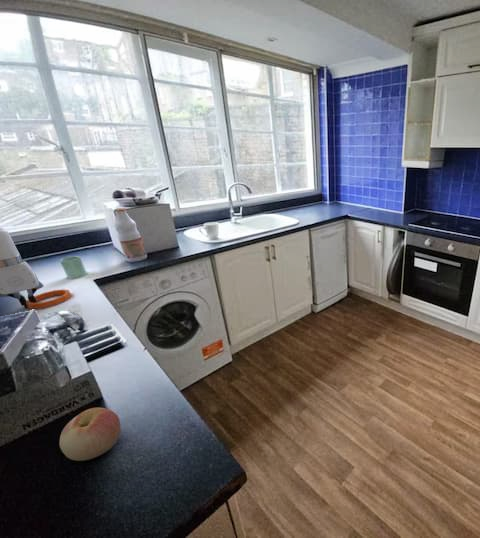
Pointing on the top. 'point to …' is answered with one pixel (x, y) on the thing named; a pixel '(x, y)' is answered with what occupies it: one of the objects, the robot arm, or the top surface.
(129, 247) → the fruit juice
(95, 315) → the top surface
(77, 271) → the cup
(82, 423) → the apple
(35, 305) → the ring
